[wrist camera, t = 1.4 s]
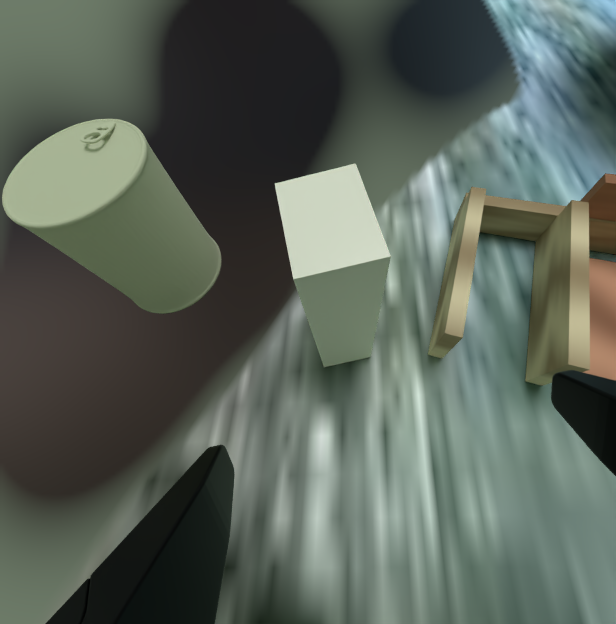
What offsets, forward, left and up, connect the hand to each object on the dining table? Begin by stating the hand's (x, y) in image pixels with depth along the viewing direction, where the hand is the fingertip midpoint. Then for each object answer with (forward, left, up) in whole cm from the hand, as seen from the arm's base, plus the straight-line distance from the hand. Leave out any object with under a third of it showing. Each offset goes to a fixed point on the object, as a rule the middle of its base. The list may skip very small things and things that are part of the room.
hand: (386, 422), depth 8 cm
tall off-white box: (+7, -3, -13) cm, 16 cm away
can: (+22, +5, -14) cm, 26 cm away
